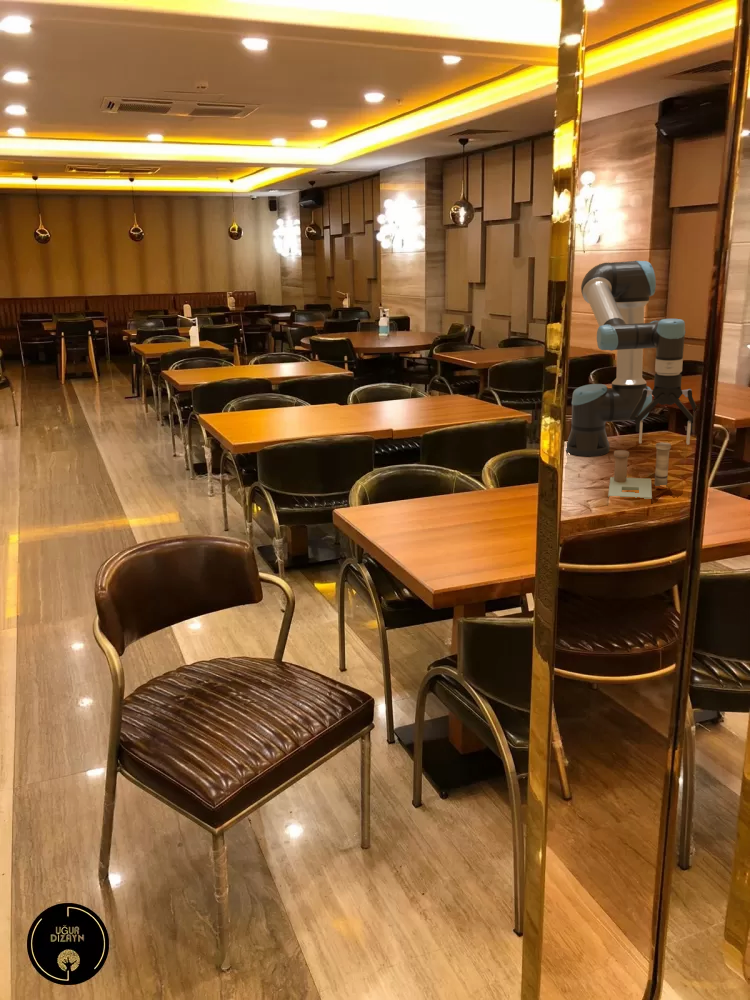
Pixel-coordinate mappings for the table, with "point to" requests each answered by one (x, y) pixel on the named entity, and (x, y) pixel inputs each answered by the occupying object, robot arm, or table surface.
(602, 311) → the robot arm
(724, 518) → the table surface
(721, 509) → the table surface
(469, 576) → the table surface
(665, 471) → the peg
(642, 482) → the board
